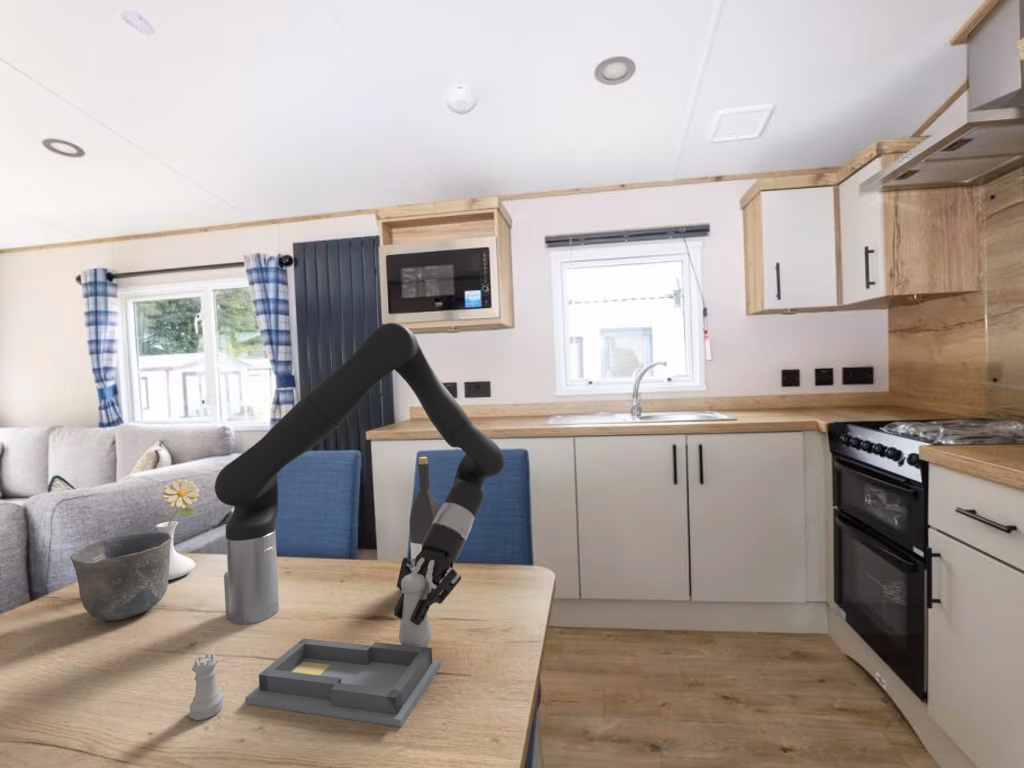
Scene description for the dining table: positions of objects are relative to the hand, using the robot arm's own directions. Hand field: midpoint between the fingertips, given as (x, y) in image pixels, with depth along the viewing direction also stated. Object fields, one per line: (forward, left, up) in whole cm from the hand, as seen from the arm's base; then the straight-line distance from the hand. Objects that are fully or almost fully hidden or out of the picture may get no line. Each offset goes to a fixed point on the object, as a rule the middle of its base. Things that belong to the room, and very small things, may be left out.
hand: (406, 619), depth 84 cm
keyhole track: (-6, -10, -6) cm, 13 cm away
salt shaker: (+1, +2, -6) cm, 7 cm away
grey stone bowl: (-69, +4, -6) cm, 70 cm away
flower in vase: (-77, +22, -6) cm, 81 cm away
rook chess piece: (-23, -19, -6) cm, 31 cm away
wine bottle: (-8, +28, -6) cm, 30 cm away
